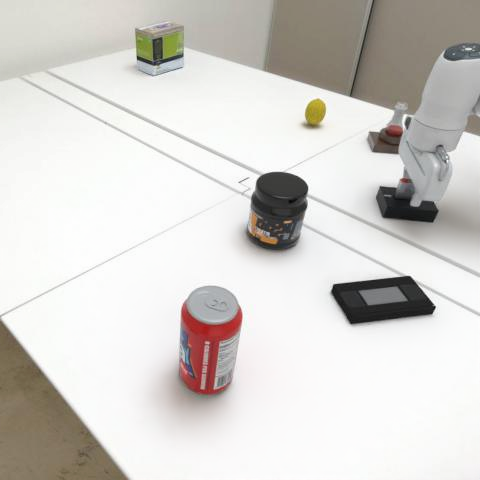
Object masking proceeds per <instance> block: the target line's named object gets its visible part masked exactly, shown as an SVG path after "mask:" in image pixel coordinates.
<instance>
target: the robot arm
mask: <svg viewBox="0 0 480 480" xmlns="http://www.w3.org/2000/svg"><path fill="white" fill-rule="evenodd" d="M472 115H476V116H477V117H478V118H480V43H477V42H461V43H457V44H454V45H451V46H448V47H447V48H445V49H444V50H443V51H442V53H440V55H439V56H438V58H437V59H436V61H435V63H434V65H433V66H432V69H431V71H430V73H429V75H428V77H427V80H426V82H425V85H424V88H423V90H422V95H421V102H420V105H419V107H418V108H417V109H416V111H415V113H414V114H407V115H406V116H405V118H404V122H403V125H404V127H403V134H402V137H401V141H400V144H399V154H398V155H399V157H400V160H401V162H402V164H403V171H402V172H403V173H402V178H407V179H410V180H412V182H413V184H414V187H415V194H414V195H411V197H410V199H409V202H410V205H411V206H415V207H418V206H420V204H421V201H422V200H424V201H434V203H435V202H436V203H437V202H440V201H442V200H443V199H444V197H445V194H446V192H447V189H448V187H449V184H450V181H451V178H452V174H453V170H454V168H453V163H452V162H451V158H450V157H451V156H450V155H449V154H448V153H453V152H454V151H456V149H457V147H458V145H459V143H460V140H461V138H462V136H463V133H464V132H465V129H466V127H467V124H468V118H469V116H472Z"/></svg>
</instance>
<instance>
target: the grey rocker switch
mask: <svg viewBox="0 0 480 480" xmlns="http://www.w3.org/2000/svg"><path fill="white" fill-rule="evenodd" d="M414 194H415V187H414V184H413V182H412V180H410V179H407V178H403V177H401V178H399V180H398V183H397V186H396V191H395V193H394V196H395V198H396V199H407V200H409V199H410V197H411V195H414ZM422 201H423V200H422Z"/></svg>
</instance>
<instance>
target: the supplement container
mask: <svg viewBox="0 0 480 480" xmlns="http://www.w3.org/2000/svg"><path fill="white" fill-rule="evenodd" d="M308 193H309V185H308V183H307V182H306V181H305V180H304V179H303V178H302V177H300V176H299V175H297V174H294V173H290V172H286V171H269V172H266V173H263V174H261V175H259V177H257V179H256V181H255V187H254V191H253V192H252V193H251V195H250V208H249V213H248V221H247V224H246V233H247V235H248V237H249V238H250V240H252V242H254V243H255V244H257V245H258V246H261V247H263V248H266V249H270V250H285V249H288V248H291V247H293V246H295V244H297V242H298V241H299V240H300V238H301V233H302V232H301V231H302V227H303V223H304V219H305V215H306V211H307V209H308V206H309V204H308V203H309V202H308V199H307V197H308Z"/></svg>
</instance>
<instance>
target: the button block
mask: <svg viewBox="0 0 480 480" xmlns="http://www.w3.org/2000/svg"><path fill="white" fill-rule="evenodd" d="M387 129H388V128H386V127H382V128H381V129H380V130H379V131H371V130H368V131H369V132H368V134H367V136H366V139H367V142H368V146H369V147H370V149H371V152H372V153H378V154H379V153H380V154H389V155H390V154H391V155H399V144H400V141H401V137H402V134H403V131H404V130H403V131H402V134H401V136H399V137H396V136H391V135H388V134H386V132H387Z"/></svg>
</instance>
